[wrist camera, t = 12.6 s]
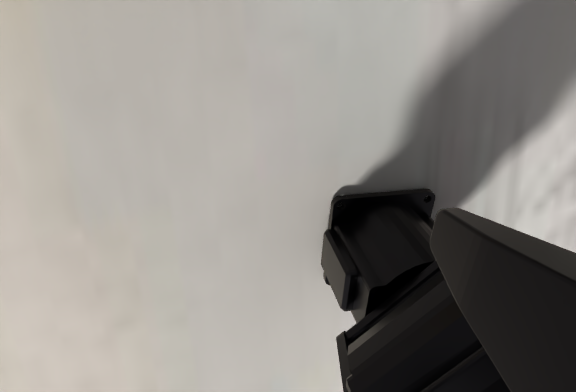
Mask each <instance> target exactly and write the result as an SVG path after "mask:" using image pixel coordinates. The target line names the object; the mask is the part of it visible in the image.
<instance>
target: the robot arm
mask: <svg viewBox="0 0 576 392" xmlns="http://www.w3.org/2000/svg"><path fill="white" fill-rule="evenodd" d="M426 196H428V197H427V198H426V199H424V198H425V197H426ZM434 201H435V195H434V193H433V192H432V191H431V190H429V189H418V190H406V191H393V192H381V193H368V194H356V195H343V196H337V197H335V198H334V199H333V200H332V202H331V209H330V218H329V228H328V229H327V230H326V231H325V233H324V239H323V249H322V259H321V265H322V268H323V270H324V280H325V282H326V284H328V285H330V286H331V288H332V290H333V292H334V295H335V297H336V299H337V301H338V303H339V306H340V308H341V309H342V310H344V311H351V312H352V314H353V317H354V319H355V321H356V324H355V325H354V326H353V327H352V328H350V329H349V330H348V331H347V332H346V331H343V332H342V333H341V334H340V335H338V336H337V337H336V340H337V348H338V355H339V362H340V369H341V376H342V383H343V391H344V392H576V253H574V252H572V251H569V250H566V249H564V248H561V247H559V246H556V245H553V244H551V243H548V242H546V241H543V240H540V239H538V238H535V237H533V236H530V235H527V234H525V233H522V232H520V231H517V230H514V229H512V228H509V227H507V226H504V225H501V224H499V223H496V222H494V221H491V220H488V219H486V218H483V217H481V216H478V215H475V214H473V213H470V212H468V211H465V210H462V209H460V208H447V209H441V210H439V211H438V213H437V214H436V218H435V221H433V220H432V219H431V218H430V217H431V213H432V209H433V205H434ZM340 203H343V205H342V206H340V207H337V206H338V205H339V204H340Z"/></svg>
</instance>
